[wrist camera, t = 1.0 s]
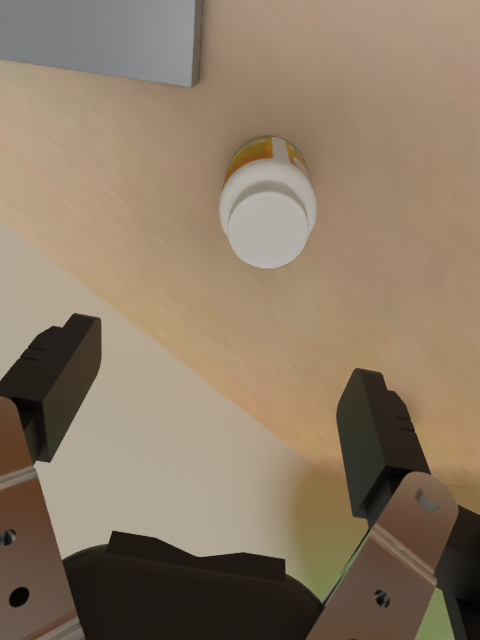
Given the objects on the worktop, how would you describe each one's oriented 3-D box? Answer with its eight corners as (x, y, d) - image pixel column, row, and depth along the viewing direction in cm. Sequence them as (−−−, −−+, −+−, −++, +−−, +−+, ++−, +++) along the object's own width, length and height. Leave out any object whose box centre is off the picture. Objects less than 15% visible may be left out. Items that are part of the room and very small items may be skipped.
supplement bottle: (219, 204, 29) (202, 267, 21) (238, 124, 26) (226, 161, 18) (291, 224, 29) (301, 292, 21) (318, 147, 26) (341, 194, 18)
